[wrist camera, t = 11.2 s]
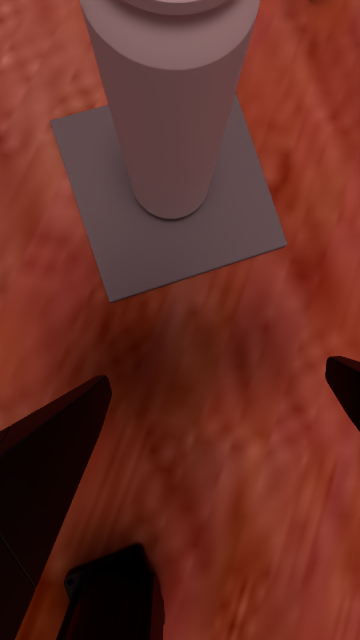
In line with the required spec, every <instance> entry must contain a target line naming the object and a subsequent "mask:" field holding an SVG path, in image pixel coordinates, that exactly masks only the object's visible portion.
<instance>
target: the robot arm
mask: <svg viewBox="0 0 360 640" xmlns="http://www.w3.org/2000/svg"><path fill="white" fill-rule="evenodd" d="M325 377H326V381H327V383H328V384H329V386H330V388H331V389H332V391H333V392H334V394H335V396H336V397H337V399H338V401H339V402H340V404H341V405H342V407H343V409H344V410H345V412H346V413H347V415H348V416H349V418H350V419H351V421H352V422H353V423H354V425H355V426H356V427H357V429H358V430H359V431H360V362H359V361H355V360H352V359H349V358H346V357H342V356H333V357H329V358H328V359H327V363H326V373H325ZM111 396H112V391H111V387H110V384H109V380H108V377H107V376H105V375H101V376H96V377H94V378H92V379H90V380H89V381H87V382H85V383H83V384H82V385H80V386H78V387H77V388H75V389H73V390H71V391H70V392H68V393H66V394H64V395H63V396H61V397H59V398H57V399H56V400H54V401H52V402H50V403H49V404H47V405H45V406H44V407H42V408H40V409H38V410H37V411H35V412H33V413H31V414H30V415H28V416H26V417H24V418H23V419H21V420H19V421H17V422H16V423H14V424H12V425H11V426H9V427H7V428H5V429H4V430H2V431H0V640H15V638H16V636H17V633H18V631H19V628H20V626H21V623H22V621H23V619H24V616H25V614H26V611H27V609H28V607H29V604H30V602H31V599H32V597H33V594H34V592H35V588H36V587H37V584H38V582H39V579H40V577H41V575H42V572H43V570H44V567H45V565H46V563H47V560H48V558H49V555H50V553H51V551H52V548H53V546H54V543H55V541H56V538H57V536H58V534H59V531H60V529H61V526H62V524H63V522H64V519H65V517H66V514H67V512H68V509H69V507H70V505H71V502H72V500H73V497H74V495H75V493H76V490H77V488H78V485H79V483H80V480H81V478H82V476H83V473H84V471H85V468H86V466H87V464H88V461H89V459H90V456H91V454H92V451H93V449H94V447H95V444H96V442H97V439H98V437H99V434H100V432H101V429H102V426H103V423H104V420H105V417H106V413H107V410H108V407H109V403H110V400H111ZM136 553H139V554H136ZM64 585H65V588H66V591H67V594H68V597H69V600H70V603H69V606H68V608H67V611H66V614H65V617H64V619H63V622H62V625H61V627H60V630H59V633H58V636H57V638H56V640H163V625H164V623H165V613H164V601H163V598H162V595H161V592H160V589H159V586H158V583H157V580H156V577H155V574H154V573H153V572H152V571H151V570H150V567H149V564H148V561H147V558H146V555H145V552H144V549H143V547H142V546H141V545H135V546H132V547H130V548H127V549H124V550H122V551H119V552H117V553H114V554H111V555H109V556H106V557H104V558H101V559H99V560H96V561H93V562H91V563H88V564H86V565H83V566H80V567H78V568H75V569H73V570H70V571H69V572H68V573H67V575H66V578H65V581H64Z"/></svg>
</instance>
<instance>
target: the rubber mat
mask: <svg viewBox="0 0 360 640" xmlns="http://www.w3.org/2000/svg"><path fill="white" fill-rule="evenodd" d="M50 123H51V126H52V129H53V132H54V135H55V138H56V141H57V144H58V147H59V150H60V153H61V156H62V159H63V162H64V165H65V168H66V171H67V174H68V177H69V181H70V184H71V187H72V190H73V193H74V196H75V199H76V202H77V205H78V208H79V211H80V214H81V217H82V220H83V223H84V226H85V229H86V232H87V235H88V238H89V241H90V244H91V247H92V250H93V253H94V256H95V260H96V263H97V266H98V269H99V272H100V275H101V278H102V281H103V284H104V287H105V290H106V293H107V296H108V299H109V302H111V303H112V302H115V301H119V300H122V299H125V298H128V297H131V296H134V295H137V294H140V293H143V292H146V291H150V290H153V289H156V288H159V287H162V286H165V285H168V284H171V283H174V282H178V281H181V280H184V279H187V278H190V277H193V276H196V275H199V274H202V273H205V272H209V271H212V270H215V269H218V268H221V267H224V266H227V265H230V264H233V263H236V262H240V261H243V260H246V259H249V258H252V257H255V256H258V255H261V254H264V253H268V252H271V251H274V250H277V249H280V248H283V247H285V246H286V245H287V242H286V239H285V236H284V233H283V230H282V227H281V224H280V221H279V218H278V215H277V212H276V209H275V206H274V203H273V201H272V198H271V195H270V192H269V189H268V186H267V183H266V180H265V177H264V174H263V171H262V168H261V165H260V162H259V159H258V156H257V154H256V151H255V148H254V145H253V142H252V139H251V136H250V133H249V130H248V127H247V124H246V121H245V118H244V115H243V112H242V110H241V107H240V104H239V101H238V98H237V95H236V92H235V96H234V99H233V103H232V106H231V110H230V114H229V117H228V121H227V124H226V128H225V132H224V135H223V139H222V142H221V146H220V150H219V153H218V157H217V160H216V164H215V168H214V171H213V175H212V179H211V182H210V186H209V189H208V193H207V195H206V197H205V199H204V201H203V203H202V204H201V205H200V206H199V207H198V208H197V209H196V210H195V211H194V212H192V213H191V214H189V215H187V216H184V217H181V218H176V219H167V218H161V217H158V216H155V215H153V214H151V213H150V212H148V211H147V210H146V209H145V208H144V207H143V206H141V205H140V203H139V202H138V201H137V199H136V197H135V195H134V193H133V191H132V187H131V183H130V180H129V176H128V173H127V169H126V166H125V162H124V158H123V155H122V151H121V148H120V144H119V140H118V137H117V133H116V130H115V126H114V122H113V119H112V115H111V112H110V108H109V105H106V106H102V107H99V108H95V109H91V110H88V111H84V112H80V113H77V114H73V115H69V116H65V117H62V118H58V119H54V120H51V121H50Z"/></svg>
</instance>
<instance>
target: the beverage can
mask: <svg viewBox="0 0 360 640" xmlns="http://www.w3.org/2000/svg"><path fill="white" fill-rule="evenodd" d="M79 1H80V4H81V8H82V11H83V15H84V19H85V22H86V26H87V29H88V33H89V36H90V40H91V44H92V47H93V51H94V54H95V58H96V62H97V65H98V69H99V72H100V76H101V79H102V83H103V87H104V90H105V94H106V97H107V101H108V105H109V108H110V112H111V115H112V119H113V122H114V126H115V130H116V133H117V137H118V140H119V144H120V148H121V151H122V155H123V158H124V162H125V166H126V169H127V173H128V176H129V180H130V183H131V187H132V191H133V193H134V195H135V197H136V199H137V201H138V202H139V203H140V205H141V206H143V207H144V208H145V209H146V210H147V211H148V212H150V213H151V214H153V215H155V216H158V217H161V218H167V219H176V218H181V217H184V216H187V215H189V214H191V213H192V212H194V211H195V210H196V209H197V208H198V207H199V206H200V205H201V204H202V203H203V201H204V199H205V197H206V195H207V193H208V189H209V186H210V182H211V179H212V175H213V171H214V168H215V164H216V160H217V157H218V153H219V150H220V146H221V142H222V139H223V135H224V132H225V128H226V124H227V121H228V117H229V114H230V110H231V106H232V103H233V99H234V96H235V92H236V88H237V85H238V81H239V77H240V74H241V70H242V67H243V63H244V59H245V56H246V52H247V49H248V45H249V41H250V38H251V34H252V31H253V27H254V23H255V20H256V16H257V12H258V9H259V4H260V0H79Z"/></svg>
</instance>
